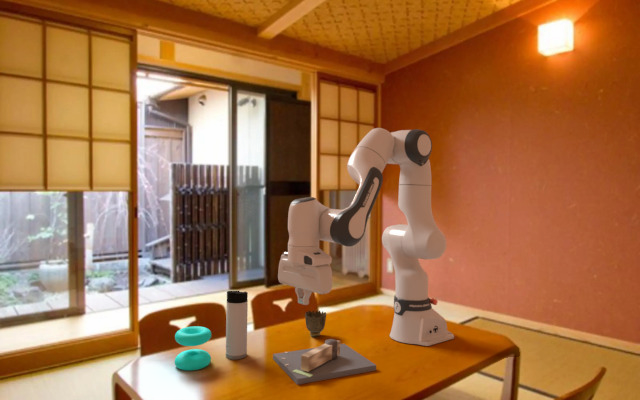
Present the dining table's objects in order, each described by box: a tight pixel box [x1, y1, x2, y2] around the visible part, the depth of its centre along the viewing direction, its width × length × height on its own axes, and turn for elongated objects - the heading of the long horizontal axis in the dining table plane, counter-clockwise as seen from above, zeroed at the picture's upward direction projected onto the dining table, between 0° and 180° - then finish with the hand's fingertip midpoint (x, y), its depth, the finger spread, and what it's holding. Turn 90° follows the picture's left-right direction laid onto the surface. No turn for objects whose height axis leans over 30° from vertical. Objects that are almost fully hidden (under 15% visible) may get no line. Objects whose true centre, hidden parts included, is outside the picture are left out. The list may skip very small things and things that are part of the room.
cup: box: [304, 310, 327, 338], centre depth 154 cm, size 8×7×8 cm
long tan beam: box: [301, 338, 341, 372], centre depth 125 cm, size 16×4×4 cm, turn 146°
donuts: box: [174, 325, 212, 371], centre depth 126 cm, size 10×10×10 cm
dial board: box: [272, 343, 377, 386], centre depth 128 cm, size 24×19×2 cm
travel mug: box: [225, 290, 249, 360], centre depth 134 cm, size 6×7×20 cm
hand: (303, 303), depth 125 cm, fingers closed
